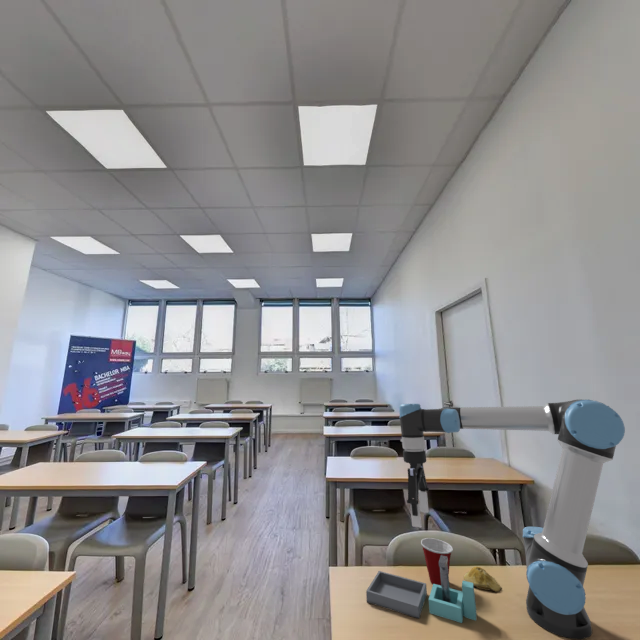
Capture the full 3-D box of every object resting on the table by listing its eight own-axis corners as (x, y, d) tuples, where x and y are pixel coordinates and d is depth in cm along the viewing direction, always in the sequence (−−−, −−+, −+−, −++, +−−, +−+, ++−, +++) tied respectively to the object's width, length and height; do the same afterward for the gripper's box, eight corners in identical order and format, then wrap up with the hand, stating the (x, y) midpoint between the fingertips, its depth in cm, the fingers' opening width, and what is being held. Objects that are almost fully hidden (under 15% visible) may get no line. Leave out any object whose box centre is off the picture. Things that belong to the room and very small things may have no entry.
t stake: (456, 606, 95) (452, 557, 98) (455, 616, 91) (450, 565, 94) (439, 601, 98) (435, 553, 101) (437, 611, 93) (433, 561, 96)
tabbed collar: (477, 608, 94) (473, 577, 96) (475, 627, 87) (472, 594, 89) (434, 596, 100) (432, 567, 102) (429, 613, 93) (427, 582, 94)
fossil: (497, 562, 109) (489, 574, 102) (504, 582, 107) (497, 596, 100) (467, 560, 116) (457, 571, 109) (473, 579, 113) (463, 592, 106)
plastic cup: (461, 593, 102) (457, 551, 105) (428, 592, 102) (425, 550, 105) (449, 574, 112) (446, 537, 115) (419, 573, 113) (417, 536, 116)
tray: (426, 594, 101) (426, 583, 102) (419, 618, 90) (418, 606, 91) (379, 580, 109) (378, 570, 109) (366, 602, 98) (366, 590, 98)
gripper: (410, 444, 119) (416, 505, 114) (393, 455, 97) (400, 531, 92) (430, 444, 116) (438, 508, 110) (418, 456, 94) (426, 535, 89)
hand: (421, 519), depth 101 cm, fingers open, 13 cm apart
